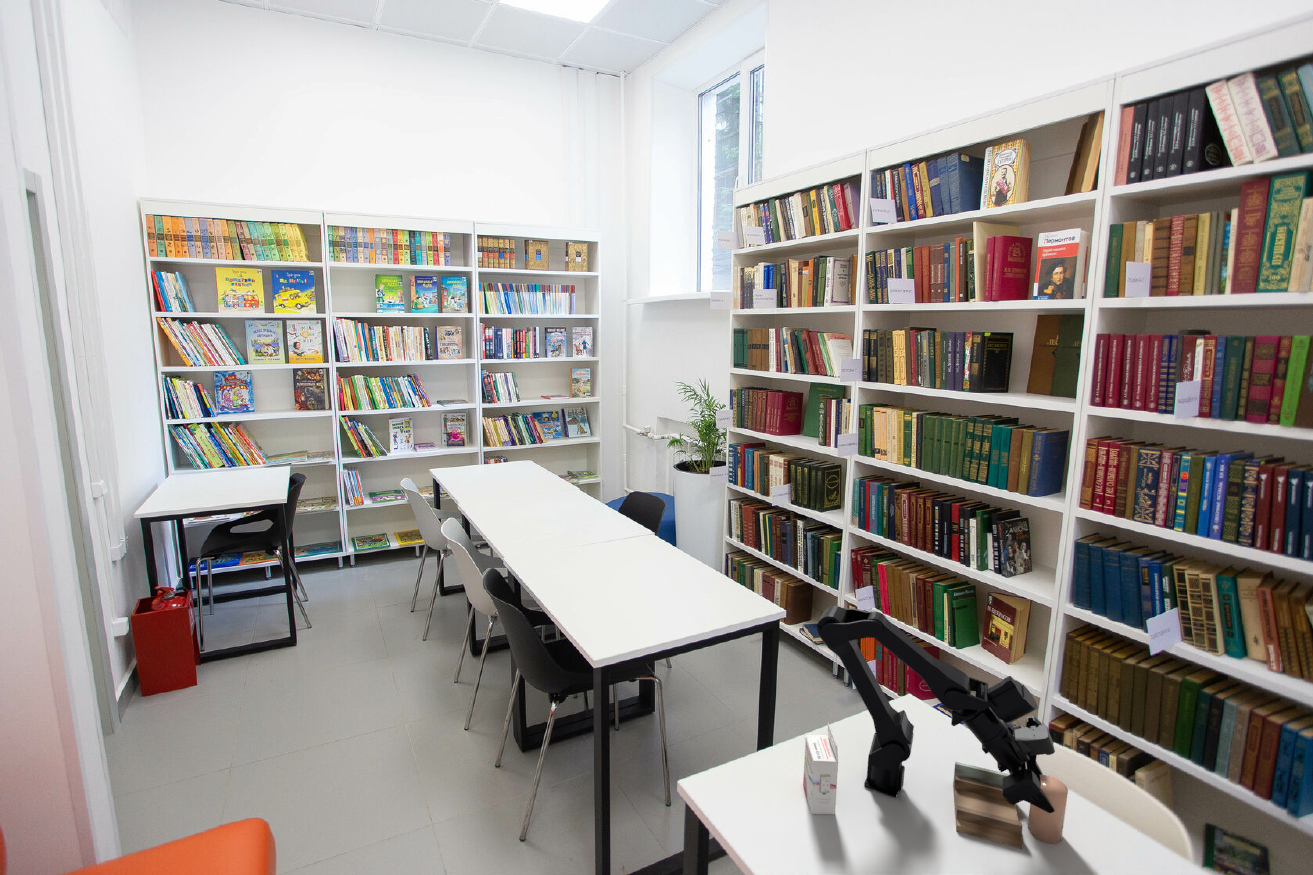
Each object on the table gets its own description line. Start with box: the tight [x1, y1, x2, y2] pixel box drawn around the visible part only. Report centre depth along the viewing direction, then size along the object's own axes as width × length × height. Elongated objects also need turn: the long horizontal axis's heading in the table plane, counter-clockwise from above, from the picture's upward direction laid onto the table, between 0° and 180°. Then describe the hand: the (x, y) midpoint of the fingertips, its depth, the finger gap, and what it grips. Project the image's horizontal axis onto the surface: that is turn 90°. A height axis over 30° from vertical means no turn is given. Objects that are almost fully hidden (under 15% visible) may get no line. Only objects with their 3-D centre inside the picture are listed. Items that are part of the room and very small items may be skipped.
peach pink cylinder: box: [1027, 774, 1069, 845], centre depth 122 cm, size 6×6×10 cm
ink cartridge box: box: [802, 722, 839, 815], centre depth 130 cm, size 9×5×15 cm, turn 179°
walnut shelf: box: [952, 761, 1024, 850], centre depth 127 cm, size 11×14×5 cm
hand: (1050, 801), depth 122 cm, fingers closed on peach pink cylinder, 6 cm apart
